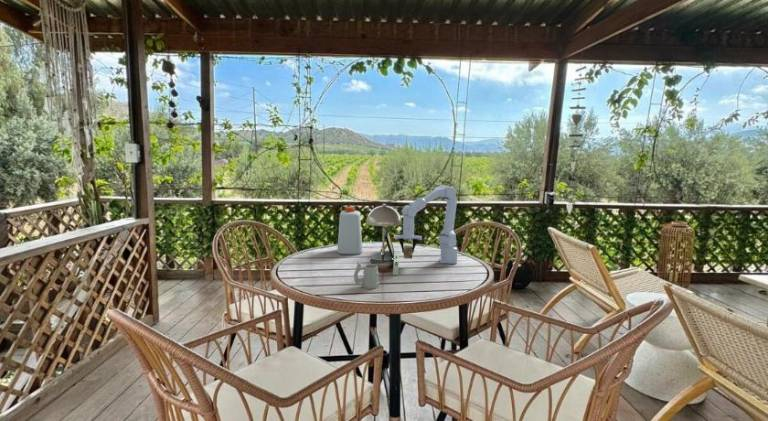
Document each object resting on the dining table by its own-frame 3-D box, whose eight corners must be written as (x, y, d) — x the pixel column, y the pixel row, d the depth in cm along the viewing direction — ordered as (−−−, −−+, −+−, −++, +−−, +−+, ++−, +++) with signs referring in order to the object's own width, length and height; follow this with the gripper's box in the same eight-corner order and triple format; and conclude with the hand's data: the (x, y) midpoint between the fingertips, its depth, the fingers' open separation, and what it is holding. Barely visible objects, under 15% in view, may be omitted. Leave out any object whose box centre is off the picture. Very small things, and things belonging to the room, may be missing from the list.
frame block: (411, 254, 208) (412, 245, 207) (412, 258, 200) (412, 249, 199) (403, 254, 208) (403, 245, 207) (403, 258, 200) (403, 249, 199)
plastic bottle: (362, 248, 242) (362, 205, 237) (362, 255, 227) (362, 209, 223) (338, 248, 241) (338, 205, 237) (336, 255, 226) (336, 209, 222)
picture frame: (394, 260, 217) (391, 235, 214) (378, 262, 217) (375, 236, 215) (393, 249, 239) (391, 227, 237) (379, 251, 240) (377, 228, 237)
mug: (380, 288, 173) (380, 263, 172) (354, 290, 172) (354, 264, 170) (377, 283, 181) (378, 259, 179) (353, 284, 179) (353, 259, 177)
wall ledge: (398, 260, 218) (398, 252, 218) (397, 274, 193) (398, 266, 192) (394, 259, 219) (394, 252, 218) (393, 274, 193) (393, 266, 192)
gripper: (421, 226, 205) (421, 250, 208) (395, 226, 206) (394, 250, 208) (422, 229, 198) (421, 254, 201) (394, 228, 199) (394, 253, 201)
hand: (407, 252), depth 204 cm, fingers closed on frame block, 5 cm apart
